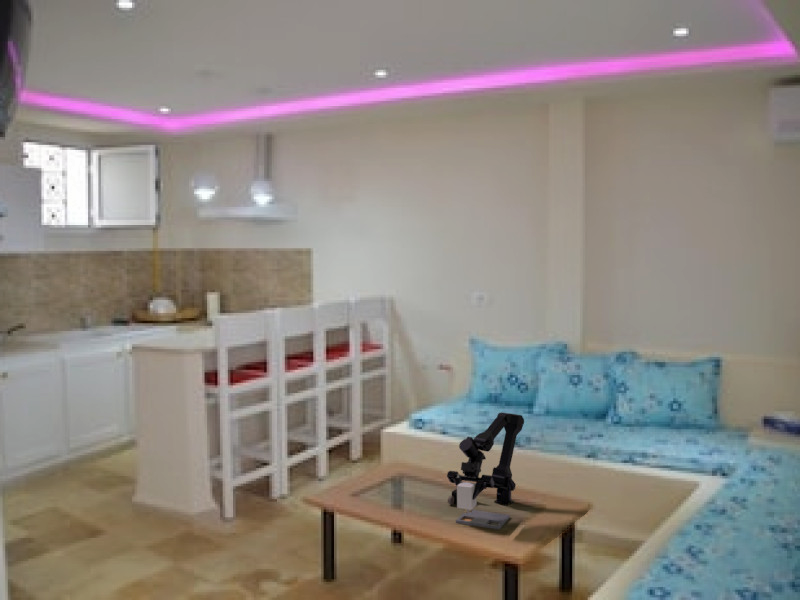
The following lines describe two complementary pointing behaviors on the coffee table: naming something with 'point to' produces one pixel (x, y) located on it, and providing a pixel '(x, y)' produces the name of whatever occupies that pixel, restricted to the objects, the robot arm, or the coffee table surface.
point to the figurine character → (453, 497)
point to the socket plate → (483, 519)
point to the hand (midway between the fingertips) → (465, 498)
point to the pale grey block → (466, 496)
